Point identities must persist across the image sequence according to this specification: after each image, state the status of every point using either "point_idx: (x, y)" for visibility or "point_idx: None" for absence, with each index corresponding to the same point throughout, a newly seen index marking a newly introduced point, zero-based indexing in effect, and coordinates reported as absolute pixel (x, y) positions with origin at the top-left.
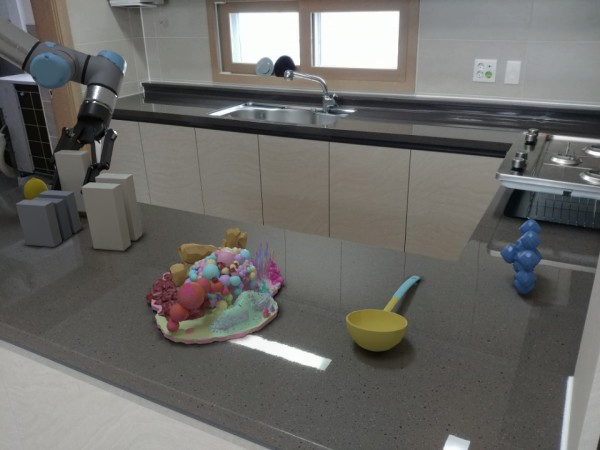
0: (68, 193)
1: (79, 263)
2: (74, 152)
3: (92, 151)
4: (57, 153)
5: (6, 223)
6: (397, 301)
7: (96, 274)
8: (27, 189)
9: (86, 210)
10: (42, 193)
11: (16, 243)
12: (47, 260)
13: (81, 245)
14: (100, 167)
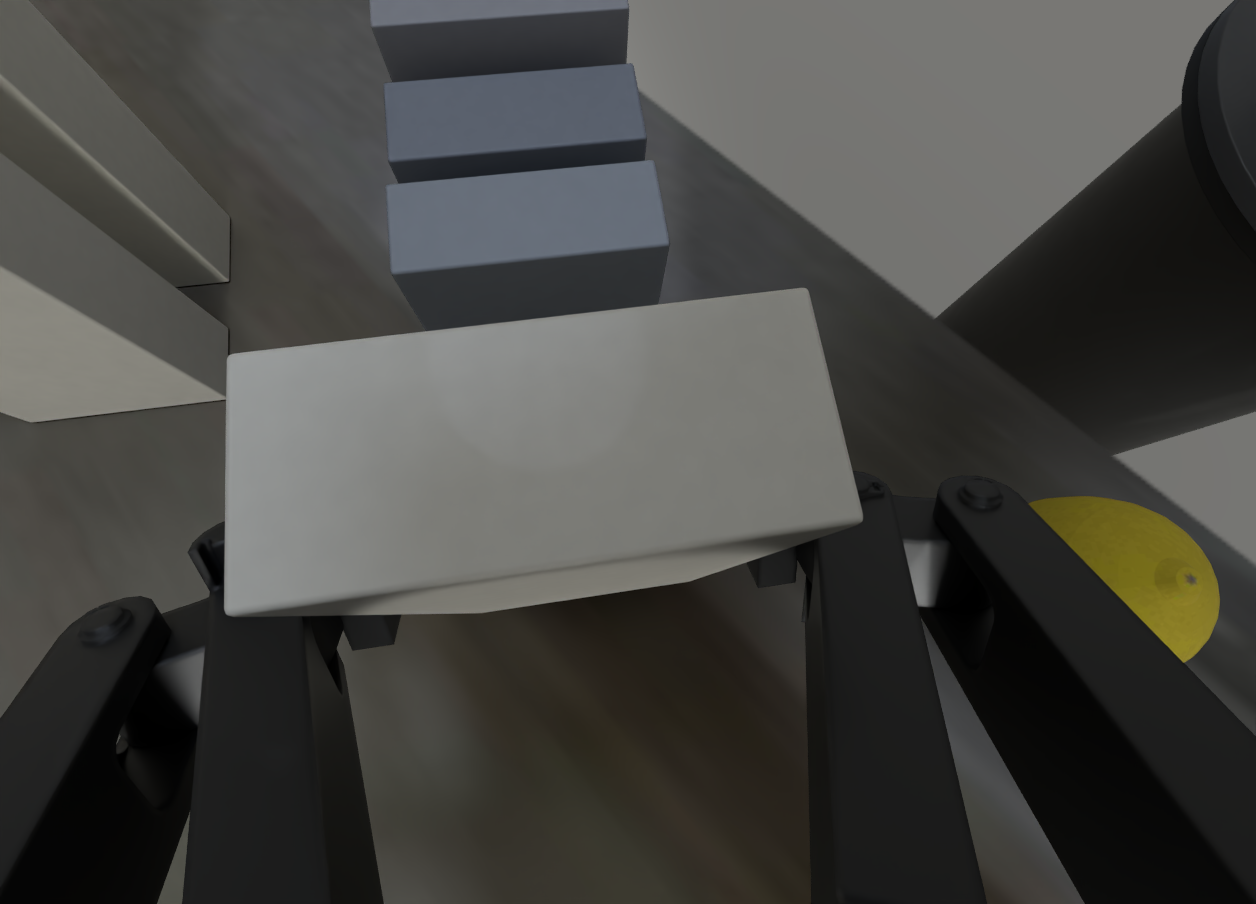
0: (402, 222)
1: (209, 89)
2: (462, 433)
3: (275, 775)
4: (742, 296)
5: (955, 339)
6: None
7: (68, 35)
8: (1099, 499)
9: (44, 22)
10: (630, 171)
11: (672, 168)
12: (381, 78)
13: (321, 231)
14: (195, 614)
